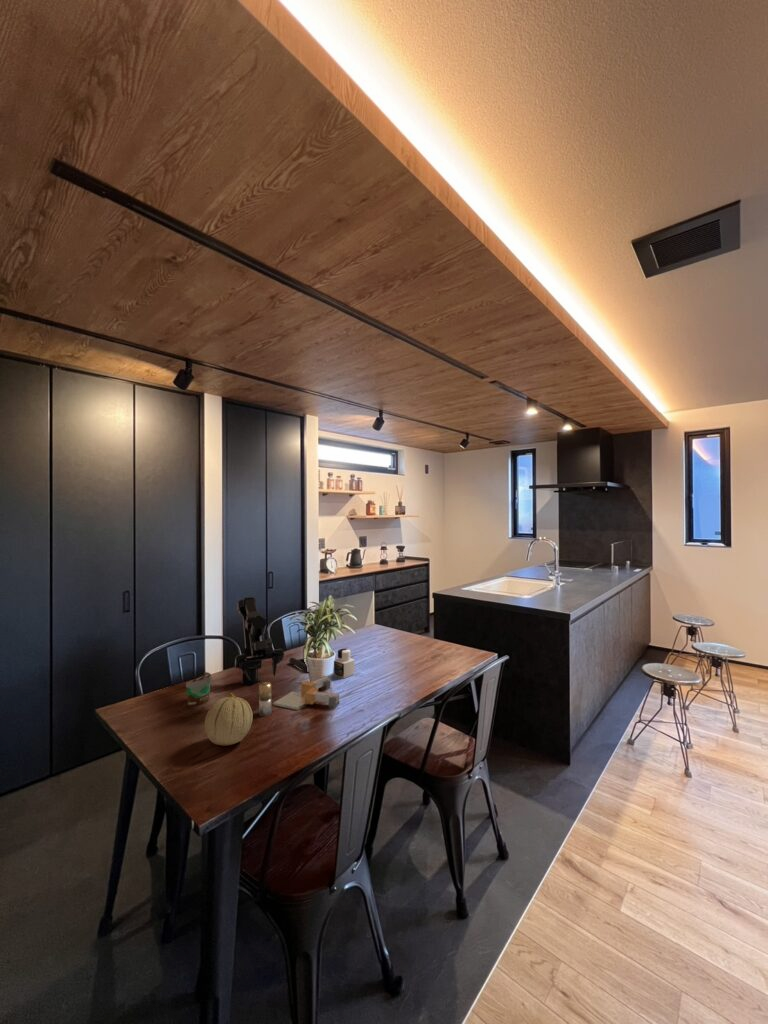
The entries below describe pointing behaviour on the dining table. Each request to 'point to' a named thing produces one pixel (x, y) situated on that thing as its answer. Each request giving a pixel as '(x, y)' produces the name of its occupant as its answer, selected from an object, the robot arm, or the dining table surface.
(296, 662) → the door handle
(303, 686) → the stand
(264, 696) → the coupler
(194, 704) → the food container
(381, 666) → the dining table surface
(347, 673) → the medicine bottle
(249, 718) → the cantaloupe
